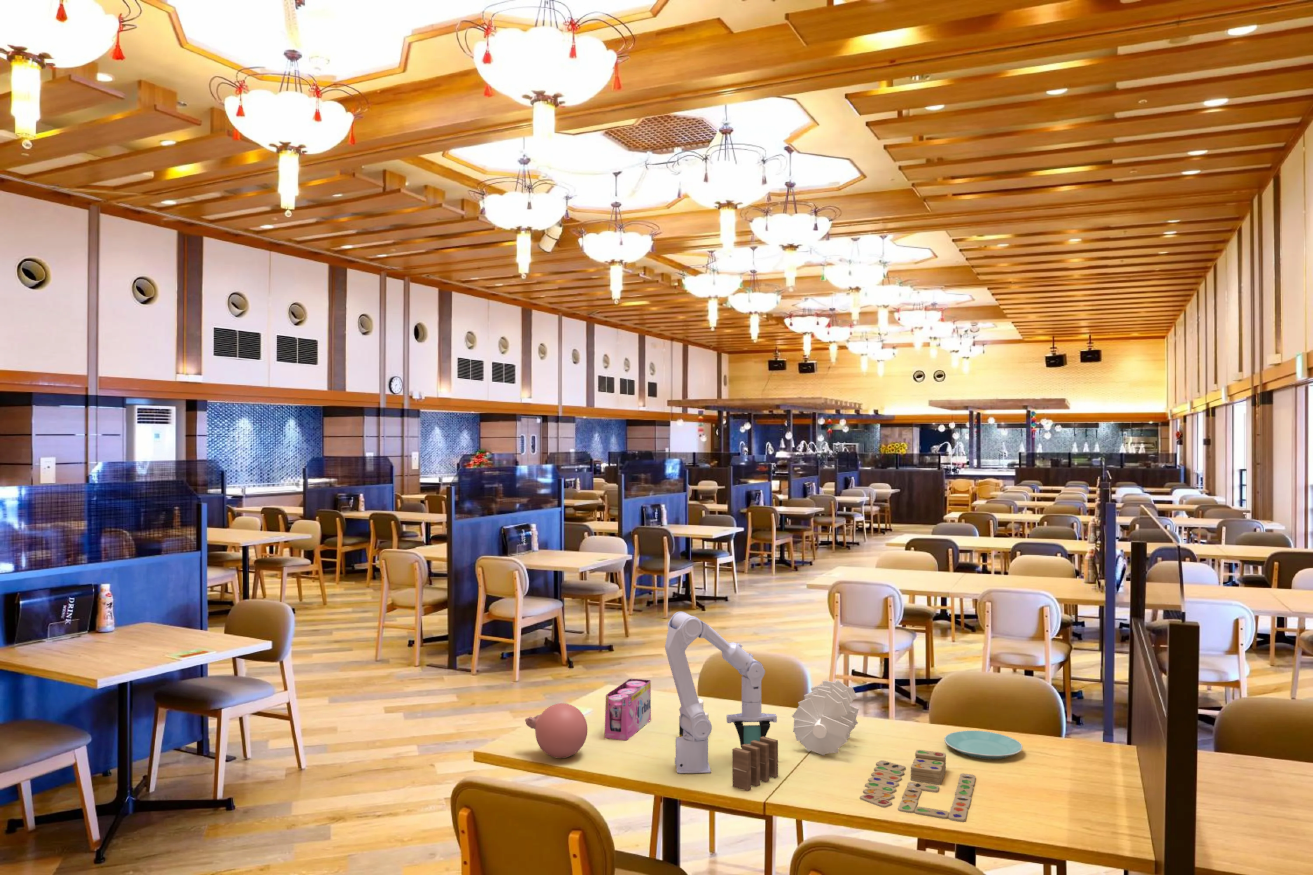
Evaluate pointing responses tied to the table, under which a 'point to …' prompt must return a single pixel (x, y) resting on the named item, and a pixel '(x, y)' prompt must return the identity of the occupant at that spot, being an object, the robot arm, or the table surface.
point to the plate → (983, 744)
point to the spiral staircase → (825, 717)
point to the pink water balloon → (559, 730)
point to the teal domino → (751, 733)
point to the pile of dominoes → (918, 786)
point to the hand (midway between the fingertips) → (751, 746)
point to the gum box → (627, 709)
